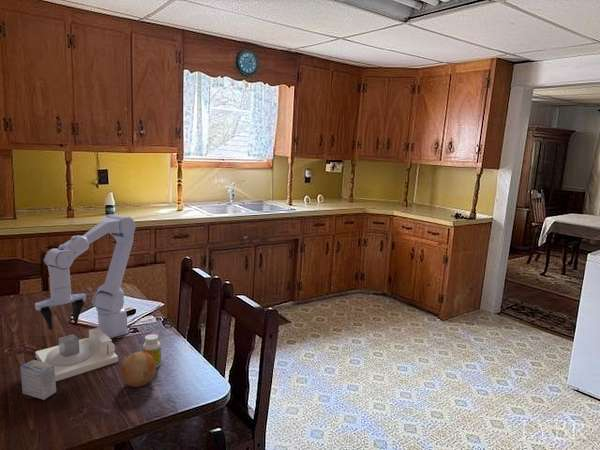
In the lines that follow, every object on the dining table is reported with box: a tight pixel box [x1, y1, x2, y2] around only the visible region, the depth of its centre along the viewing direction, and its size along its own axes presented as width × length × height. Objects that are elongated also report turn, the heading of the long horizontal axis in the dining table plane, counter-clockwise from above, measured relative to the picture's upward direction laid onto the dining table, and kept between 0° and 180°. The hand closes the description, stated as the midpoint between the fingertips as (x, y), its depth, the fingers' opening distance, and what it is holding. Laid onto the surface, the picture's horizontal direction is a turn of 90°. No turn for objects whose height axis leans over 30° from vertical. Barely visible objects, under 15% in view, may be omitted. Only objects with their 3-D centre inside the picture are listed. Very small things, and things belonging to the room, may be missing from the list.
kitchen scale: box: [35, 327, 119, 382], centre depth 141 cm, size 19×19×6 cm
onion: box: [120, 350, 157, 388], centre depth 129 cm, size 10×10×10 cm
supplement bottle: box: [142, 333, 162, 368], centre depth 140 cm, size 5×5×10 cm
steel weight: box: [58, 333, 80, 357], centre depth 139 cm, size 4×4×5 cm
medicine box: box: [19, 359, 57, 401], centre depth 122 cm, size 8×4×9 cm, turn 71°
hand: (62, 325), depth 142 cm, fingers open, 7 cm apart
